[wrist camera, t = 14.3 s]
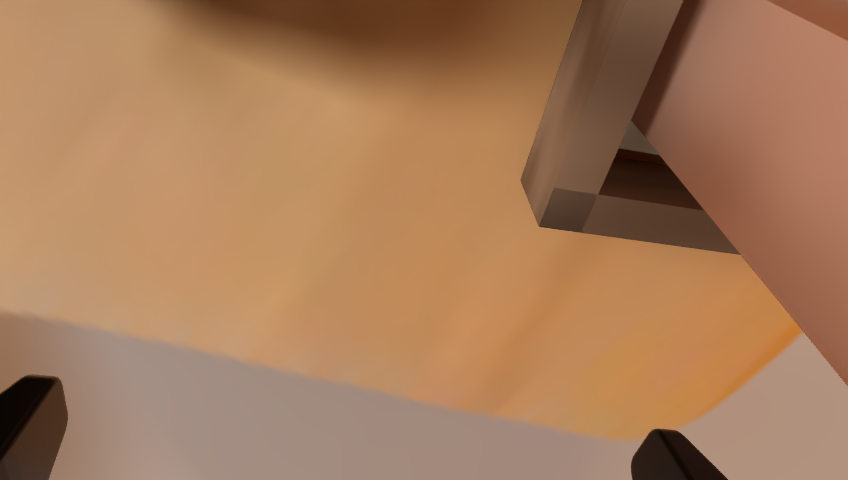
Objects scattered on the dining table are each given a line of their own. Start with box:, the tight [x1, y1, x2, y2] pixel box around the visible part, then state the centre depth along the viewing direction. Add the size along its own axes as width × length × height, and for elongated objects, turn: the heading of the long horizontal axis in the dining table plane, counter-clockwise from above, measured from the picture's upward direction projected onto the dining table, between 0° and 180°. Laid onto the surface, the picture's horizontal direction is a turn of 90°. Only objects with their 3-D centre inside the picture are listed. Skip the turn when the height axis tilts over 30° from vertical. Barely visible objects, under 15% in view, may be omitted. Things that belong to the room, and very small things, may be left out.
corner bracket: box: [521, 0, 848, 255], centre depth 19 cm, size 12×12×3 cm
